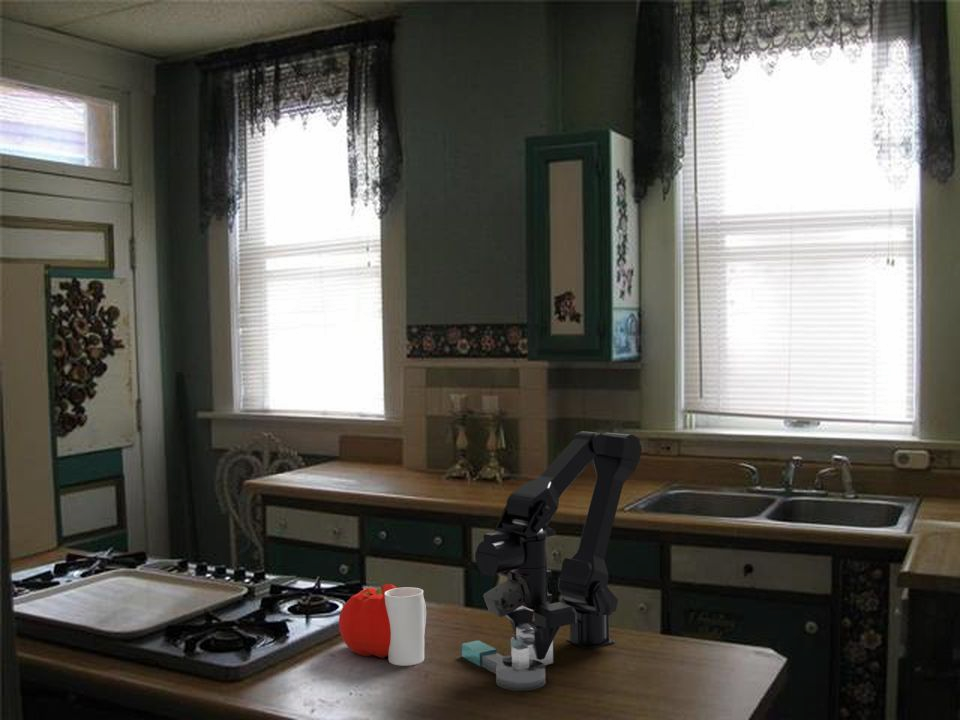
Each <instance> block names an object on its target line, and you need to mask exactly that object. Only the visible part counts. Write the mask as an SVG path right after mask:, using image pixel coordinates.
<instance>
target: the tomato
mask: <svg viewBox="0 0 960 720" xmlns="http://www.w3.org/2000/svg"><path fill="white" fill-rule="evenodd" d="M395 588H397V587H396V585H393V584H391V583H385V584H383V585H382V586H377V588H376V587H367V588H364V589H362V590H360V591H359V592H358V593H356V594H353V595H352V596H350V597H349V599H348V600H347V601H346V602H345V603H343V606H342V608H341V611H340V613H339V615H338V617H339V618H338V629H339V633H340V636H341V638H342V640H343V642H344V644H345V645H346V646H347V647H348V648H349V649H350V650H351V651H352V652H354V653H356V654H358V655H361V656H364V657H371V656H374V657H377V658H381V659H384V658H386V657H387V658H388V651H389V646H390V638H391V630H390V622H389V617H388V613H387V609H386V605H385V594H384V593H385V592H386V591H388V590H391V589H395Z"/></svg>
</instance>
